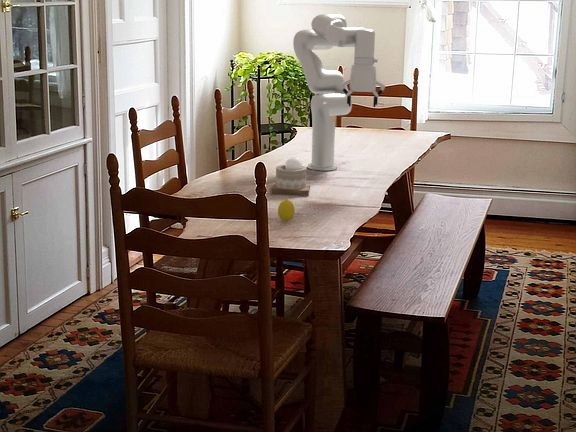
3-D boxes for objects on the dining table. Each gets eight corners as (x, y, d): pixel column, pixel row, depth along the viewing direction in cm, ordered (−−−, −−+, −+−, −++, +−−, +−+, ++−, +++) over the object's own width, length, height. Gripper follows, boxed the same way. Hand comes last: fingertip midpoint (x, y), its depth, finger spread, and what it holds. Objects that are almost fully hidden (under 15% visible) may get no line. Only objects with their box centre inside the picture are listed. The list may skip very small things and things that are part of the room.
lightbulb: (279, 184, 347) (292, 157, 344) (275, 178, 352) (287, 152, 350) (294, 189, 349) (306, 163, 347) (290, 184, 355) (302, 158, 352)
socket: (273, 186, 358) (274, 163, 356) (309, 187, 358) (310, 164, 355) (270, 194, 345) (271, 171, 343) (308, 196, 344) (309, 172, 342)
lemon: (294, 220, 311) (294, 197, 309) (294, 224, 305) (295, 201, 303) (277, 220, 310) (278, 197, 308) (277, 224, 305) (278, 201, 303)
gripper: (386, 61, 359) (383, 105, 364) (341, 60, 360) (339, 104, 365) (386, 63, 352) (384, 108, 356) (341, 62, 353) (339, 107, 357)
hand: (361, 106), depth 361 cm, fingers open, 9 cm apart
